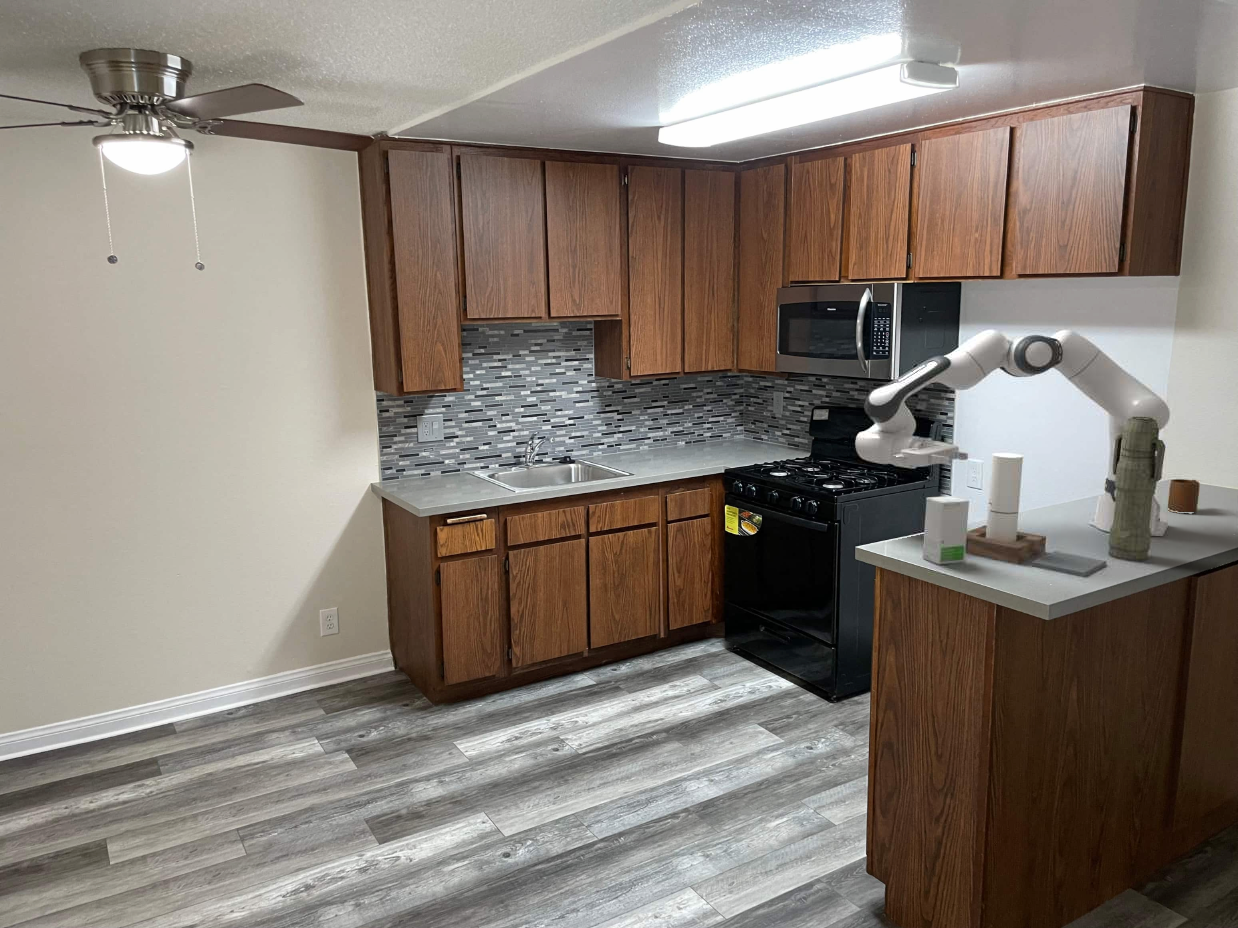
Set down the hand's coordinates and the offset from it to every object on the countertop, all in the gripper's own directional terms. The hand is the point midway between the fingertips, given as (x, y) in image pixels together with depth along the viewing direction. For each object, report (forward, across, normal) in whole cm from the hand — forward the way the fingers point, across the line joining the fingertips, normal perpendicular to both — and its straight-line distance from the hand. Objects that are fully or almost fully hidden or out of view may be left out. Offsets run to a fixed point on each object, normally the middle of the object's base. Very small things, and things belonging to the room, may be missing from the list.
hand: (958, 458), depth 236 cm
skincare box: (+7, -18, +23) cm, 30 cm away
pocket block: (+13, 0, +22) cm, 26 cm away
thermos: (+37, +19, +22) cm, 47 cm away
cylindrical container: (+13, 0, +22) cm, 26 cm away
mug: (+31, +86, +22) cm, 94 cm away
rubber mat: (+30, 0, +22) cm, 37 cm away
